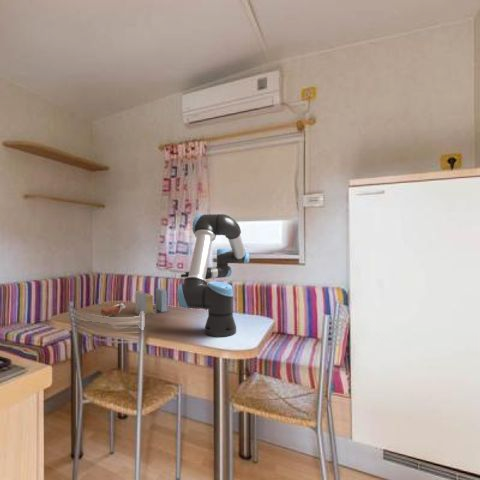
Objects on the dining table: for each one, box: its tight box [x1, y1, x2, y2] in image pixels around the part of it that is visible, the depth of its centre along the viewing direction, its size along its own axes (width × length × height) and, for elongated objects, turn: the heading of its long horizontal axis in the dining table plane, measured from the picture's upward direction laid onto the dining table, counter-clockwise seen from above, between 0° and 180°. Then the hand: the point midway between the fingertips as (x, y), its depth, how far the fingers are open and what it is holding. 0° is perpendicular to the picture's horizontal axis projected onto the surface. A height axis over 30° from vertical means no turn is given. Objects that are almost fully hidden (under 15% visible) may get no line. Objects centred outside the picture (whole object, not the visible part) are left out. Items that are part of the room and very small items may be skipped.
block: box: [146, 293, 154, 315], centre depth 170 cm, size 4×8×10 cm, turn 35°
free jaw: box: [155, 287, 168, 313], centre depth 174 cm, size 3×10×12 cm, turn 35°
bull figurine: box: [100, 302, 126, 317], centre depth 159 cm, size 4×13×8 cm, turn 138°
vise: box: [134, 290, 170, 316], centre depth 171 cm, size 17×11×13 cm, turn 125°
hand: (175, 275), depth 179 cm, fingers closed
